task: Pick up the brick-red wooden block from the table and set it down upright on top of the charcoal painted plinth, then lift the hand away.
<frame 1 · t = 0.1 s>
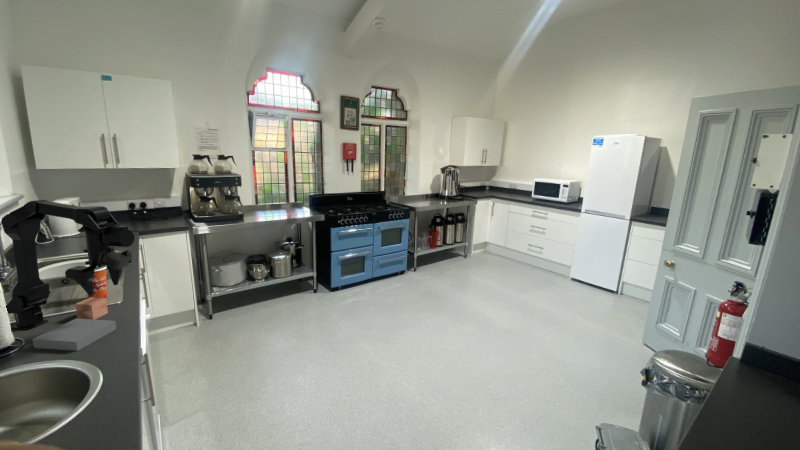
hand: (103, 289, 116), 15 cm above the worktop, fingers open, 9 cm apart
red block: (93, 316, 128), on the worktop
plinth: (77, 337, 113), on the worktop
paper cup: (98, 298, 143), on the worktop
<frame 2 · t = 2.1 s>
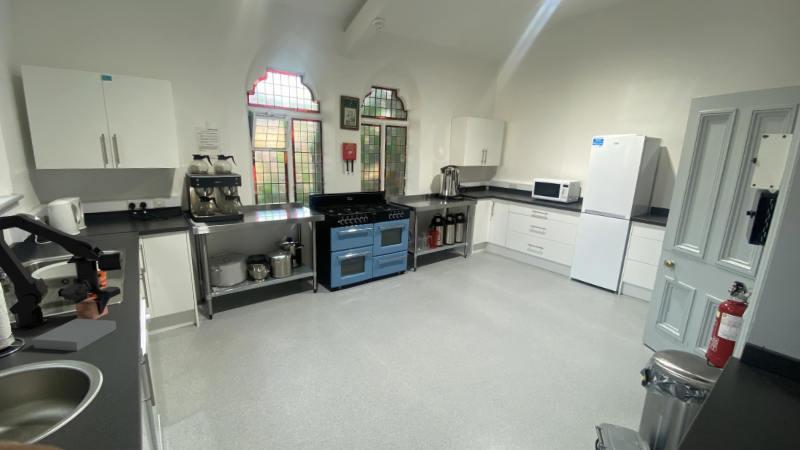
hand: (92, 313, 128), 1 cm above the worktop, fingers closed on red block, 6 cm apart
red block: (93, 316, 128), on the worktop, touching gripper
everything else where it was.
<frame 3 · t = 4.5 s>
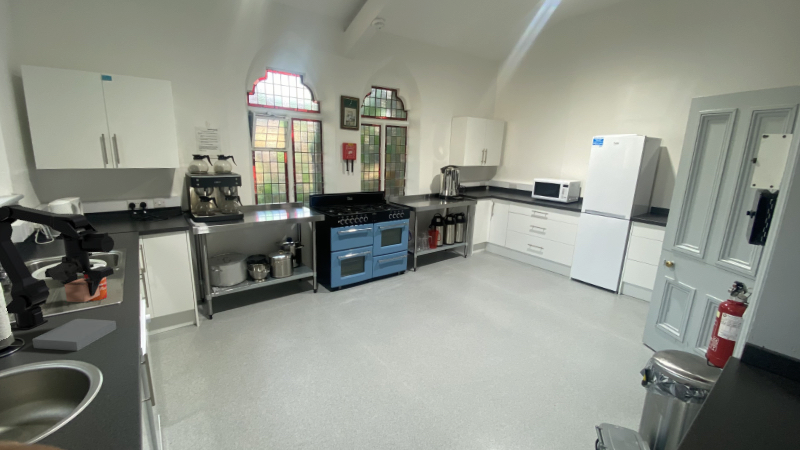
hand: (83, 295, 119), 11 cm above the worktop, fingers closed on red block, 6 cm apart
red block: (83, 298, 119), point 10 cm above the worktop, touching gripper
everything else where it was.
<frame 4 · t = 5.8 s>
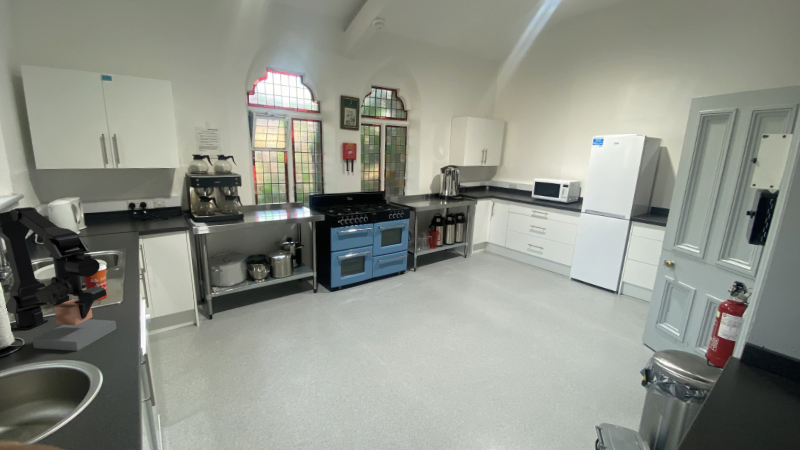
hand: (74, 317, 112), 7 cm above the worktop, fingers closed on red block, 6 cm apart
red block: (75, 320, 112), point 6 cm above the worktop, touching gripper
everything else where it was.
when the fingers open (5 cm above the worktop, at t = 6.6 s): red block stays where it is, resting on plinth.
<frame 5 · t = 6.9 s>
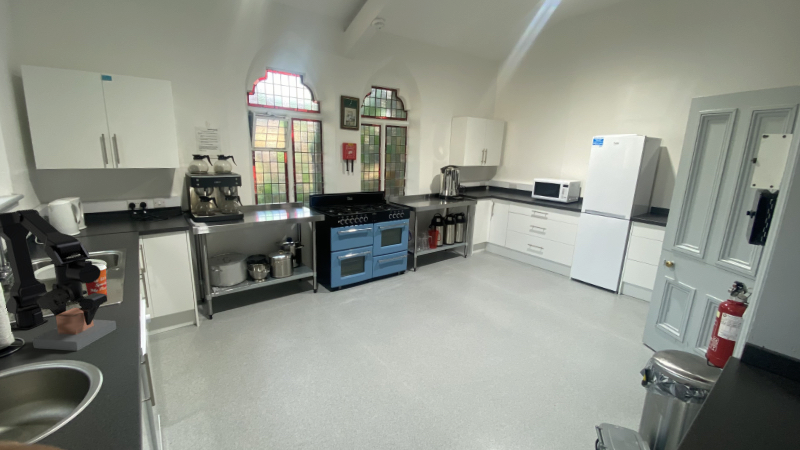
hand: (75, 323, 112), 5 cm above the worktop, fingers open, 9 cm apart
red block: (76, 329, 113), point 3 cm above the worktop, touching plinth
everything else where it was.
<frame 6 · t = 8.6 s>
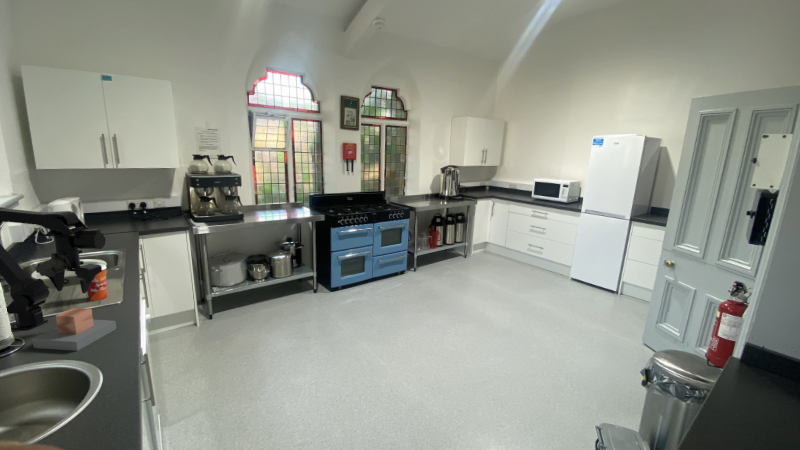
hand: (72, 291, 120), 12 cm above the worktop, fingers open, 9 cm apart
nothing on the worktop moved.
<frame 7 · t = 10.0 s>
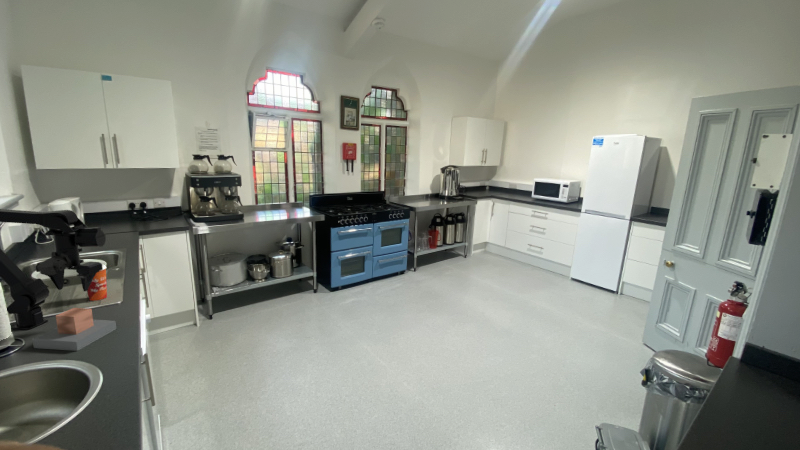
hand: (73, 290, 121), 12 cm above the worktop, fingers open, 9 cm apart
nothing on the worktop moved.
at the end: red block inside the target area on the plinth (0.1 cm from its centre), point 3.0 cm above the plinth's base; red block tilted 0°; the gripper is holding nothing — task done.
